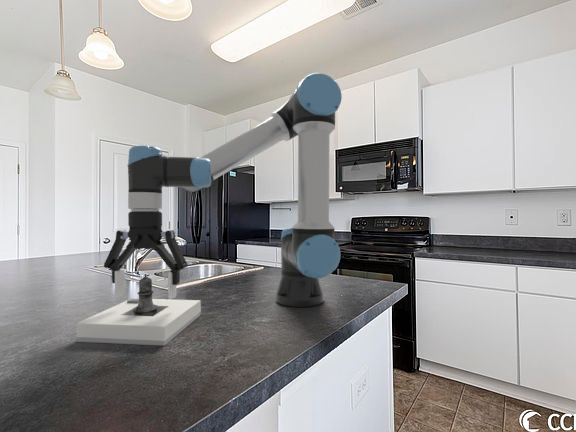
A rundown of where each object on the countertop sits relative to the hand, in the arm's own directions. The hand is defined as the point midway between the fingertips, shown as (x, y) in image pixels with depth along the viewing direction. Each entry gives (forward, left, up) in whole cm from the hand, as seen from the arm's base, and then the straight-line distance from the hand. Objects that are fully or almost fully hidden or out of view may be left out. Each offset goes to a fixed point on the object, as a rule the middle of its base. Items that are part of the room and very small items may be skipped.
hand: (145, 297), depth 76 cm
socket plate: (0, 0, -7) cm, 7 cm away
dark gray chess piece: (0, 0, -6) cm, 6 cm away
